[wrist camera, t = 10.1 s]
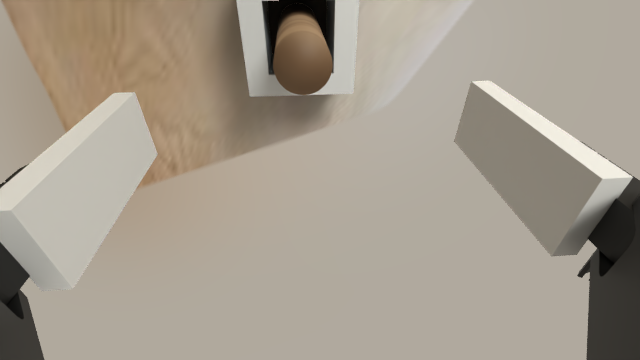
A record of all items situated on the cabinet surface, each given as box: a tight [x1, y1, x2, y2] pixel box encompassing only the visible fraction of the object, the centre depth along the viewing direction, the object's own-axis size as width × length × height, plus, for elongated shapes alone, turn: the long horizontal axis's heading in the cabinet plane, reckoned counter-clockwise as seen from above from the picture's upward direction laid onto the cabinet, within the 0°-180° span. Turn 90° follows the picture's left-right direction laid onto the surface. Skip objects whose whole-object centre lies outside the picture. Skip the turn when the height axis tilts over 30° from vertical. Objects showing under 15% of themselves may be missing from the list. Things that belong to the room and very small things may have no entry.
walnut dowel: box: [273, 3, 333, 95], centre depth 27 cm, size 4×4×15 cm
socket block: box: [236, 0, 359, 97], centre depth 30 cm, size 10×10×7 cm
